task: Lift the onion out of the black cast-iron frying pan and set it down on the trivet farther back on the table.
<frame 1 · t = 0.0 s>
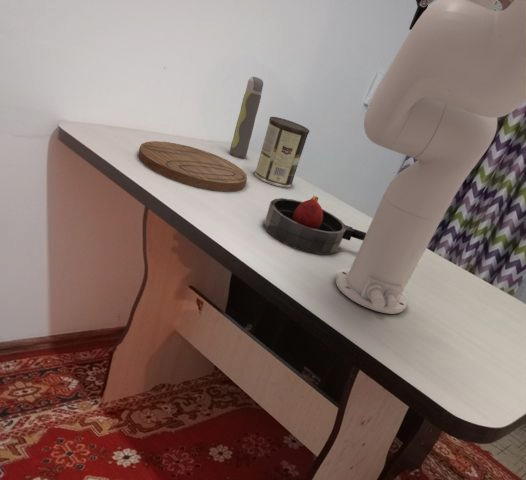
hand: (438, 47, 79), 37 cm above the table, tool pointing down, fingers open, 9 cm apart
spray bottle: (237, 156, 131), on the table
coffee can: (272, 180, 121), on the table
onion: (301, 235, 92), resting on pan
pan handle: (370, 239, 92), point 4 cm above the table
trivet: (193, 170, 107), on the table
pan: (301, 236, 92), on the table
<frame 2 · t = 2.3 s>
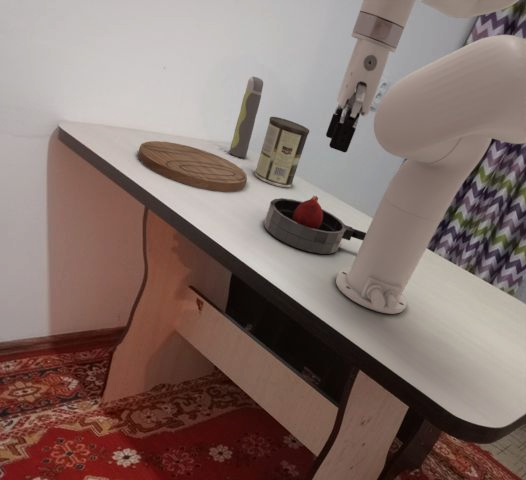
hand: (335, 144, 83), 18 cm above the table, tool pointing down, fingers open, 9 cm apart
nothing on the table moved.
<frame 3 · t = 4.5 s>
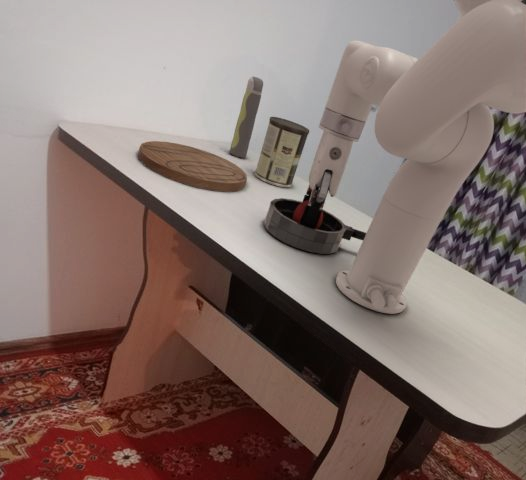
hand: (306, 220, 90), 3 cm above the table, tool pointing down, fingers closed on onion, 6 cm apart
onion: (301, 235, 92), resting on pan, touching gripper
everything else where it was.
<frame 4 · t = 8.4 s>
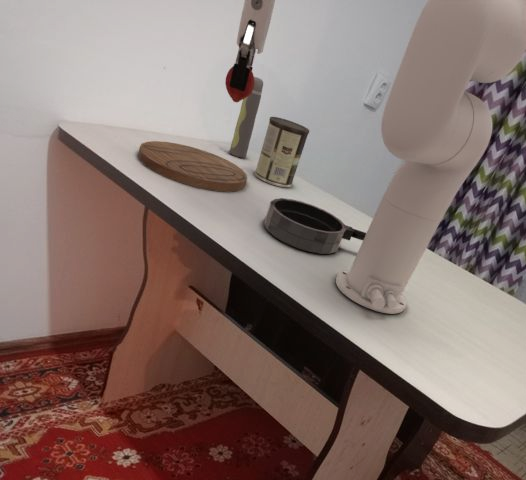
hand: (238, 86, 93), 20 cm above the table, tool pointing down, fingers closed on onion, 5 cm apart
onion: (234, 103, 95), point 17 cm above the table, touching gripper
everything else where it was.
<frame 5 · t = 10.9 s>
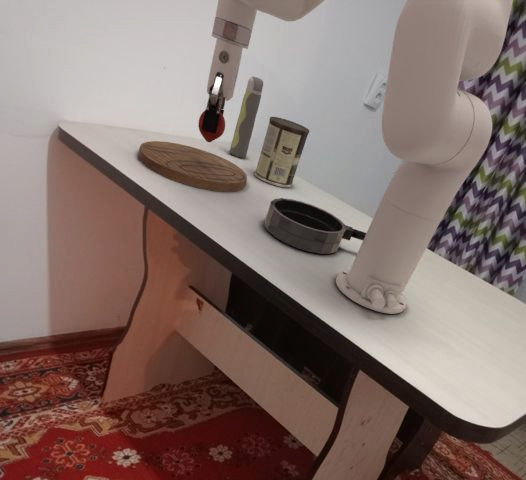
hand: (210, 128, 101), 10 cm above the table, tool pointing down, fingers closed on onion, 5 cm apart
onion: (207, 143, 103), point 7 cm above the table, touching gripper
everything else where it was.
when the fingers open (5 cm above the table, at t = 12.7 s): onion stays where it is, resting on trivet.
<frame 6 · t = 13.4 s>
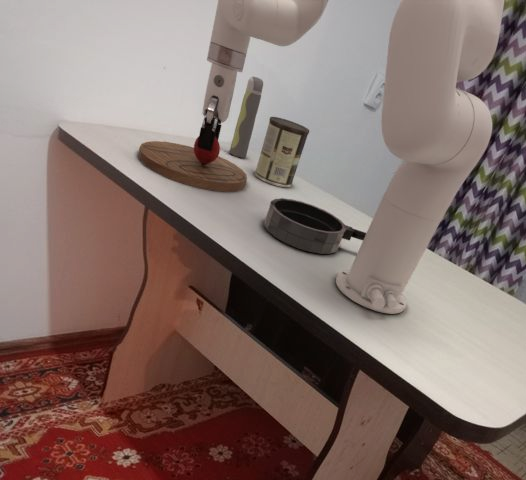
hand: (207, 144, 103), 6 cm above the table, tool pointing down, fingers open, 9 cm apart
onion: (202, 166, 106), point 2 cm above the table, touching trivet
trivet: (193, 170, 107), on the table, touching onion
everything else where it was.
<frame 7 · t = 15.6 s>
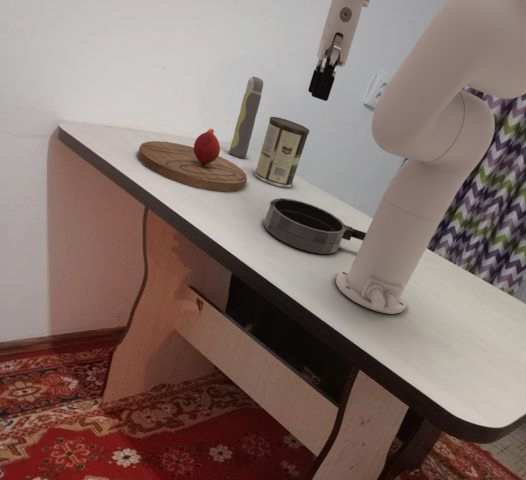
hand: (317, 96, 90), 23 cm above the table, tool pointing down, fingers open, 9 cm apart
nothing on the table moved.
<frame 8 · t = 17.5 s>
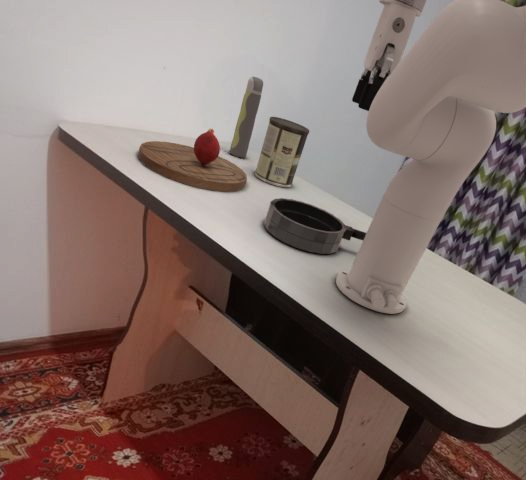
hand: (362, 106, 88), 24 cm above the table, tool pointing down, fingers open, 9 cm apart
nothing on the table moved.
at the end: onion inside the target area on the trivet (2.4 cm from its centre), point 1.9 cm above the trivet's base; onion touching trivet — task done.
